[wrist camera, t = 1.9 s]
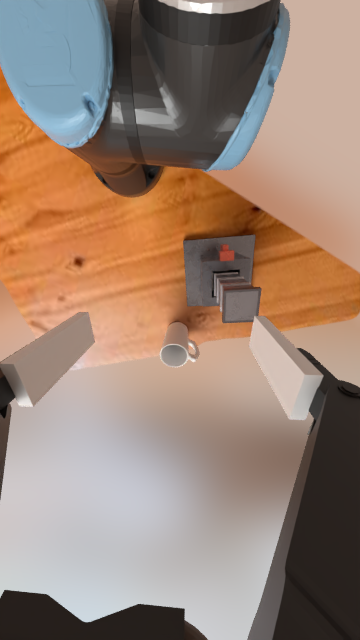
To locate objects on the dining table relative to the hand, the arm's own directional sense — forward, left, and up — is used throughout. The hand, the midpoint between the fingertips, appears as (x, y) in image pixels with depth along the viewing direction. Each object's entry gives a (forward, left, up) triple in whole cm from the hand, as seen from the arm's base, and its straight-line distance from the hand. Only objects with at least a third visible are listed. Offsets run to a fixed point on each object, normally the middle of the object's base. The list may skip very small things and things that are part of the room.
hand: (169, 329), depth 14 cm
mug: (+19, -2, -34) cm, 39 cm away
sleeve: (+2, +8, -34) cm, 35 cm away
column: (+2, +8, -32) cm, 33 cm away
